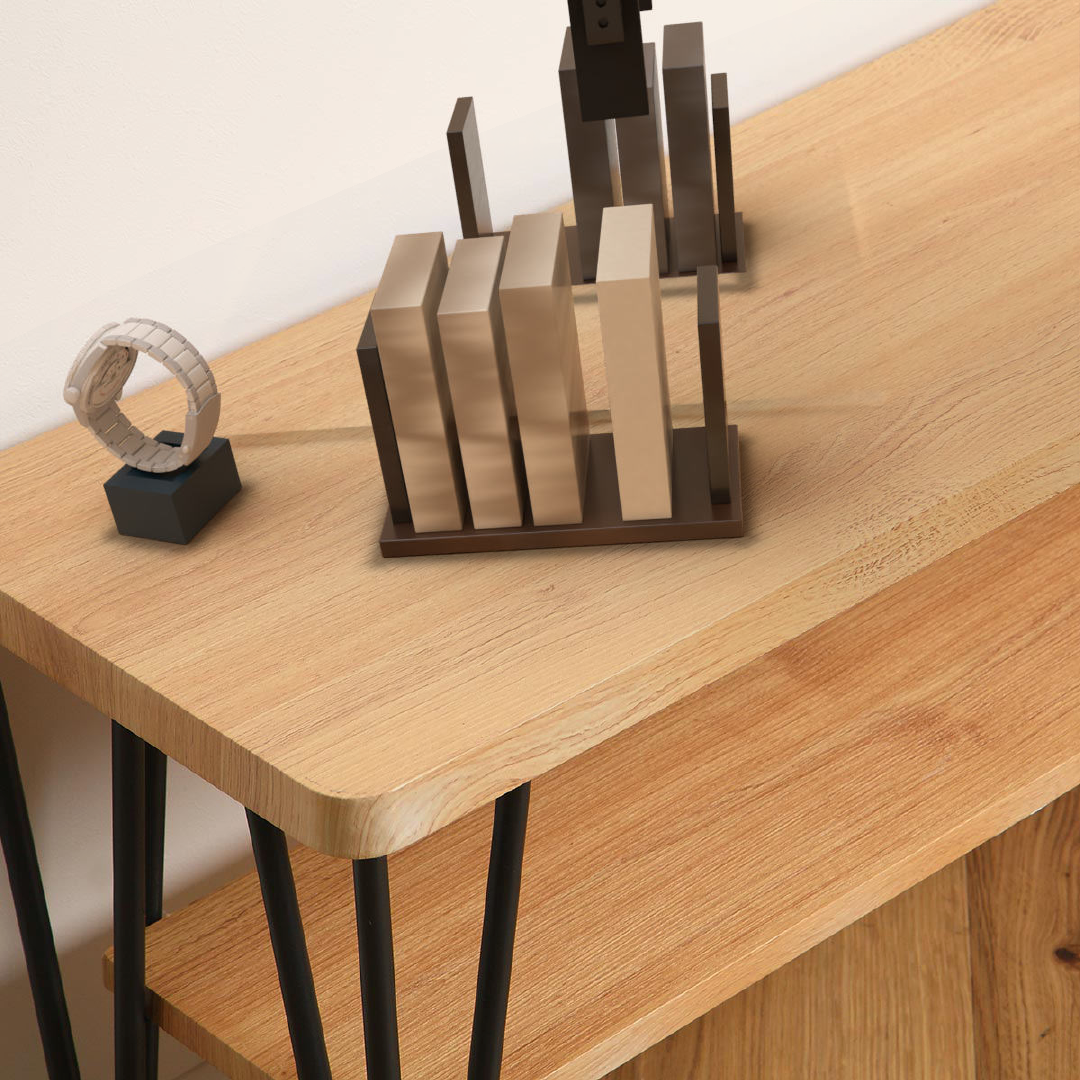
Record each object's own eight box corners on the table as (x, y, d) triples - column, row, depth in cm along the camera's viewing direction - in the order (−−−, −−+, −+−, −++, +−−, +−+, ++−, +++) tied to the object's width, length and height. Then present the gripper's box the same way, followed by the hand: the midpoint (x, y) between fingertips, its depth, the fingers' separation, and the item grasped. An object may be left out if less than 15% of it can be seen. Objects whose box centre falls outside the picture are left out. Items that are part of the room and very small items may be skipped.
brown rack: (738, 439, 86) (723, 193, 78) (743, 537, 79) (727, 275, 71) (406, 461, 89) (359, 224, 81) (381, 557, 81) (327, 307, 73)
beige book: (672, 432, 86) (652, 203, 78) (671, 518, 79) (649, 277, 72) (627, 435, 86) (603, 207, 79) (622, 521, 80) (595, 281, 72)
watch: (148, 473, 91) (93, 297, 85) (269, 491, 88) (221, 309, 82) (88, 529, 87) (26, 348, 81) (213, 550, 84) (158, 363, 77)
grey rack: (743, 225, 108) (731, 7, 100) (747, 285, 101) (734, 56, 93) (477, 247, 110) (443, 35, 102) (462, 307, 103) (425, 85, 95)
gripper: (488, -514, 70) (552, -16, 82) (413, -476, 49) (513, 180, 61) (662, -541, 69) (701, -33, 81) (659, -514, 48) (712, 159, 60)
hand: (620, 60), depth 71 cm, fingers open, 13 cm apart
